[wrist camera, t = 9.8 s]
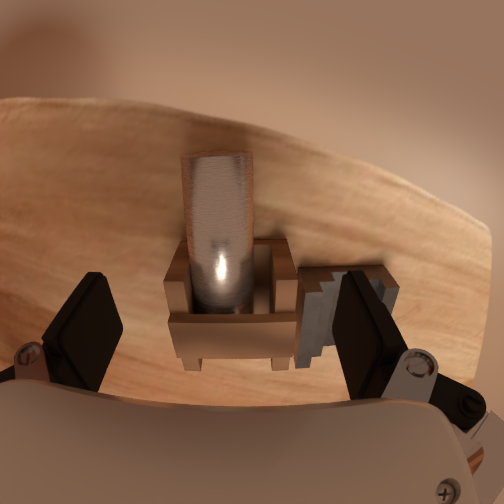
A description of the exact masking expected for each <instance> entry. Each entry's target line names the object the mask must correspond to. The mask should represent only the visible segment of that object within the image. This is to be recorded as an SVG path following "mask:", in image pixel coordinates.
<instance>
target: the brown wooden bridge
mask: <svg viewBox="0 0 504 504" xmlns="http://www.w3.org/2000/svg"><path fill="white" fill-rule="evenodd" d="M163 283H164V288H165V293H166V297H167V302H168V306H169V311H170V316H169V320H168V326H169V330H170V334H171V338H172V341H173V345H174V349H175V352H176V356H177V358H181V359H182V362H183V366H184V369H185V371H201V365H202V359H260V358H271V366H272V371H279V370H288V369H289V361H290V357H292V356H293V348H294V340H295V332H296V323H297V321H296V316H295V306H296V296H297V285H298V278H297V274H296V271H295V267H294V264H293V260H292V256H291V253H290V249H289V246H288V242H287V239H263V240H254V314H196V308H195V301H194V293H193V285H192V278H191V269H190V261H189V252H188V243H187V241H180V244H179V246H178V248H177V250H176V253H175V255H174V257H173V260H172V262H171V264H170V267H169V269H168V271H167V274H166V276H165V279H164V281H163Z"/></svg>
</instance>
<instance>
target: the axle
mask: <svg viewBox="0 0 504 504" xmlns="http://www.w3.org/2000/svg"><path fill="white" fill-rule="evenodd" d="M181 172H182V186H183V199H184V211H185V222H186V233H187V243H188V252H189V261H190V269H191V278H192V285H193V293H194V301H195V308H196V314H254V232H253V153H252V152H248V151H212V152H200V153H192V154H186V155H182V156H181Z"/></svg>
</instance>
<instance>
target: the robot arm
mask: <svg viewBox="0 0 504 504" xmlns="http://www.w3.org/2000/svg"><path fill="white" fill-rule="evenodd" d="M122 332H123V325H122V322H121V319H120V317H119V314H118V311H117V308H116V305H115V302H114V299H113V297H112V294H111V290H110V287H109V284H108V281H107V278H106V277H105V276H103V274H102V273H101V272H88V273H87V274H86V275H85V276H84V278H83V279H82V280H81V282H80V283H79V284H78V286H77V287H76V288H75V290H74V291H73V292H72V294H71V295H70V296H69V298H68V299H67V301H66V302H65V303H64V305H63V306H62V308H61V309H60V311H59V312H58V313H57V315H56V316H55V318H54V319H53V321H52V322H51V324H50V325H49V327H48V328H47V330H46V331H45V333H44V334H43V336H42V340H43V342H44V343H43V344H42V345H41V344H40V343H38V342H29V343H26V344H24V345H23V346H21V347H20V348H19V349H18V351H17V352H16V354H15V356H14V365H13V366H11V367H9V368H7V369H5V370H3V371H1V372H0V504H493V502H494V501H495V499H496V498H497V496H498V494H499V493H500V492H501V490H502V488H503V487H504V421H503V420H501V419H500V418H499V417H498V416H497V415H496V414H495V413H494V412H492V411H490V412H489V413H488V412H487V411H486V403H485V400H484V398H483V397H482V395H480V393H478V392H477V391H475V390H473V389H471V388H469V387H467V386H465V385H463V384H461V383H459V382H456V381H454V380H452V379H450V378H448V377H446V376H444V375H442V374H440V373H438V363H437V361H436V359H435V358H434V356H432V355H431V354H430V353H429V352H427V351H425V350H422V349H408V347H407V345H406V343H405V341H404V339H403V337H402V335H401V333H400V331H399V329H398V328H397V326H396V324H395V322H394V320H393V318H392V316H391V314H390V313H389V311H388V309H387V307H386V305H385V304H384V303H383V302H381V301H380V299H379V298H378V296H377V294H376V292H375V290H374V289H373V287H372V285H371V283H370V281H369V280H368V278H367V276H366V274H365V273H364V271H363V270H348V271H347V274H343V276H342V280H341V285H340V290H339V296H338V301H337V306H336V310H335V315H334V320H333V324H332V335H333V338H334V341H335V345H336V348H337V352H338V355H339V359H340V362H341V366H342V370H343V373H344V377H345V380H346V384H347V388H348V392H349V395H350V399H351V400H349V401H341V402H331V403H319V404H305V405H290V406H262V407H233V406H204V405H188V404H176V403H166V402H157V401H148V400H141V399H134V398H127V397H121V396H115V395H109V394H103V393H98V391H99V388H100V385H101V383H102V380H103V378H104V375H105V373H106V370H107V368H108V365H109V363H110V361H111V358H112V356H113V353H114V351H115V349H116V346H117V344H118V342H119V340H120V337H121V335H122Z"/></svg>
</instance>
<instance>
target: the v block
mask: <svg viewBox="0 0 504 504" xmlns="http://www.w3.org/2000/svg"><path fill="white" fill-rule="evenodd" d="M348 270H363V271H364V273H365V274H366V276H367V278H368V280H369V281H370V283H371V285H372V287H373V289H374V290H375V292H376V294H377V296H378V298H379V299H380V301H381V302H383V303H384V304H385V305H386V307H387V309H388V311H389V313H390V314H391V313H392V310H393V307H394V304H395V301H396V298H397V295H398V292H399V288H400V287H399V285H398V284H397V283H396V281H395V280H394V278H393V277H392V276H391V274H390V273H389V271H388V270H387V269H386V267H385V266H384V265H368V266H339V267H306V268H298V285H297V296H296V306H295V316H296V321H297V323H296V332H295V340H294V348H293V356H294V362H295V368H310V363H311V358H312V357H317V356H321V353H322V348H323V346H332V345H335V341H334V338H333V335H332V324H333V320H334V315H335V310H336V306H337V301H338V296H339V290H340V285H341V280H342V276H343V274H347V271H348Z"/></svg>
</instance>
